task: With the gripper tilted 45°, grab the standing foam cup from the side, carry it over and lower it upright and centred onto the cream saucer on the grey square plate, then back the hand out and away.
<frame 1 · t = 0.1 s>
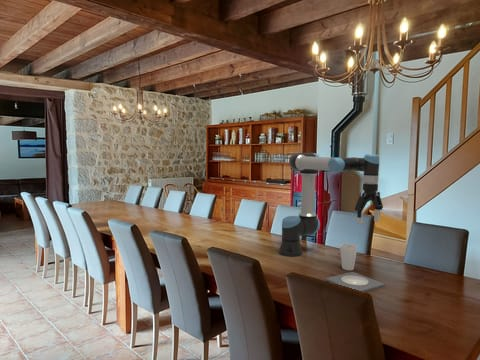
hand: (368, 222, 187), 28 cm above the table, tool pointing down, fingers open, 13 cm apart
foam cup: (347, 268, 196), on the table
grey square plate: (354, 283, 175), on the table
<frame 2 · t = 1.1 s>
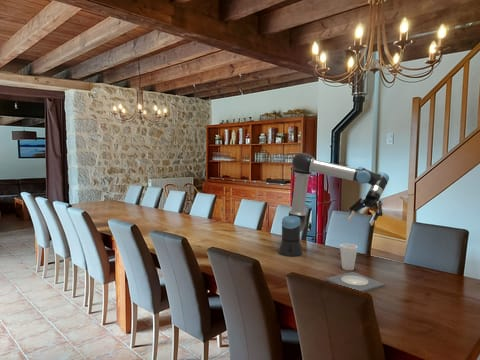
hand: (359, 222, 201), 25 cm above the table, tool tilted 45°, fingers open, 13 cm apart
nothing on the table moved.
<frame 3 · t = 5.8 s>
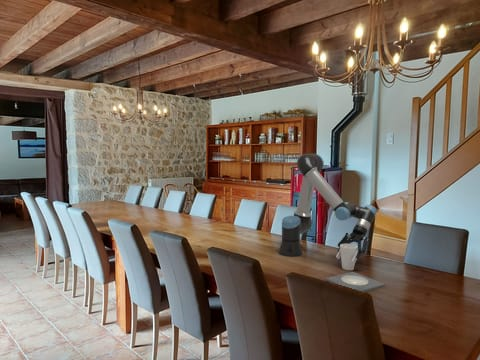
hand: (345, 260, 194), 5 cm above the table, tool tilted 45°, fingers closed on foam cup, 9 cm apart
foam cup: (347, 268, 196), on the table, touching gripper
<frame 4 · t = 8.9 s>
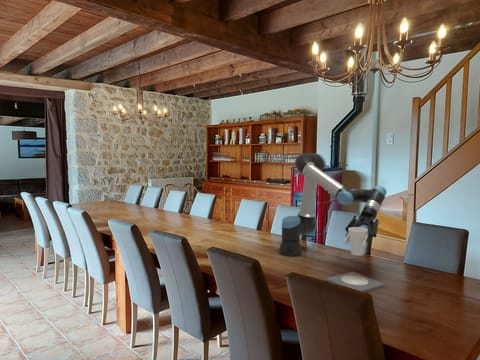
hand: (354, 244, 178), 18 cm above the table, tool tilted 45°, fingers closed on foam cup, 9 cm apart
foam cup: (357, 254, 180), point 13 cm above the table, touching gripper
when the fingers open (8 cm above the table, at t = 12.1 s): foam cup drops 1 cm, resting on grey square plate.
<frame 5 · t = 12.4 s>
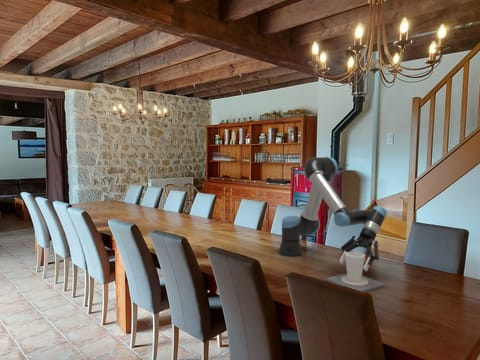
hand: (352, 266, 172), 9 cm above the table, tool tilted 45°, fingers open, 13 cm apart
foam cup: (354, 280, 175), point 1 cm above the table, touching grey square plate
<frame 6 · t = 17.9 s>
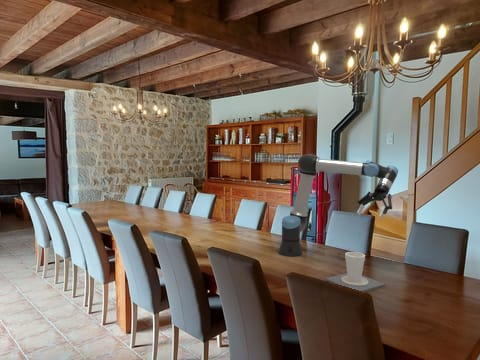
hand: (368, 215, 197), 30 cm above the table, tool tilted 45°, fingers open, 13 cm apart
nothing on the table moved.
at the end: foam cup 0.3 cm from the grey square plate (horizontally); foam cup tilted 0°; the gripper is holding nothing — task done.
